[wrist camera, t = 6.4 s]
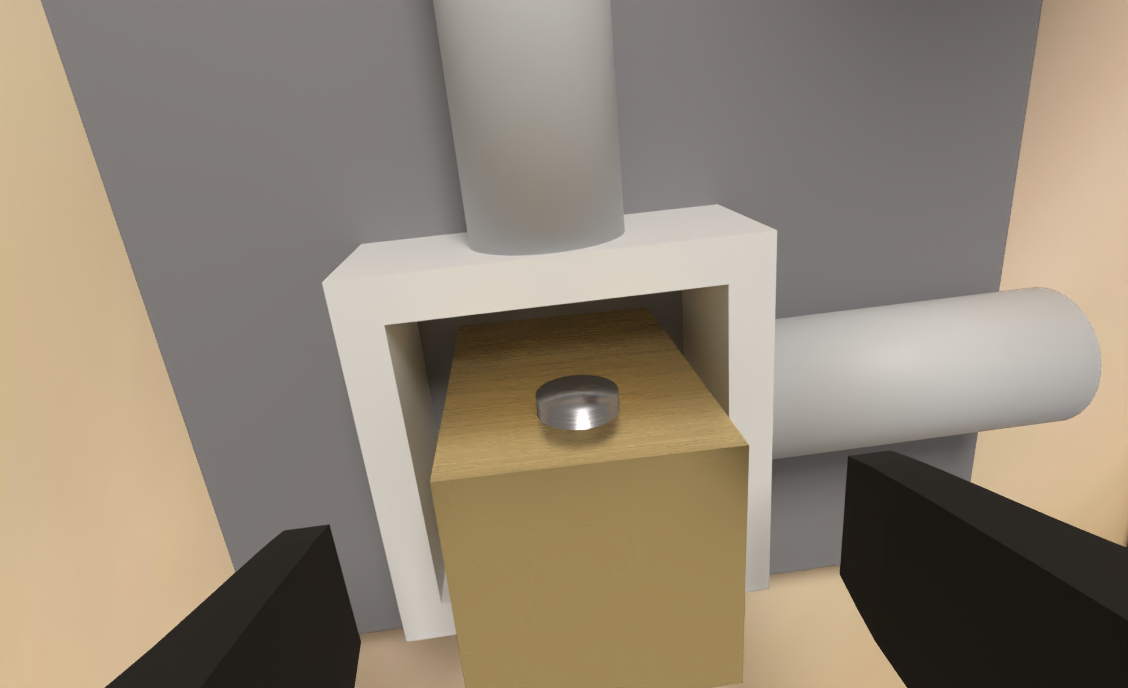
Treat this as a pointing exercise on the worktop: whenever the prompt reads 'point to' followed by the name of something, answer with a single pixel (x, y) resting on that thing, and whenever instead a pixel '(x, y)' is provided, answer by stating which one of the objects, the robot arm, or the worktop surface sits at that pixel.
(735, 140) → the shaft board
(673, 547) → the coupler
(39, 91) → the worktop surface
